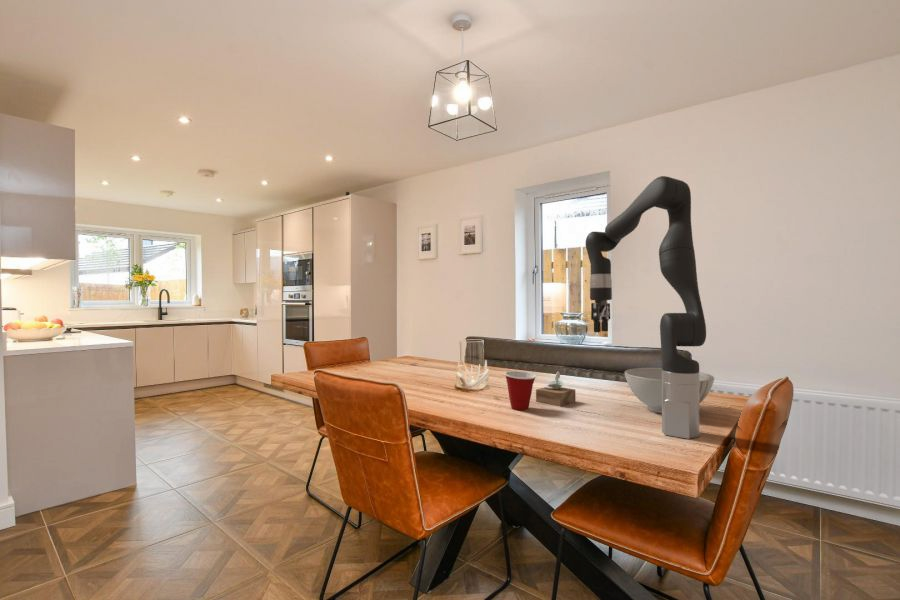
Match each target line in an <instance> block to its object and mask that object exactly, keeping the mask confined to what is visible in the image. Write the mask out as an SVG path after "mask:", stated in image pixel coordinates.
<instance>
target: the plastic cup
mask: <svg viewBox="0 0 900 600" xmlns="http://www.w3.org/2000/svg"><path fill="white" fill-rule="evenodd" d="M504 375H505V379H506V384H507V391H508V397H509V402H510V408H511V409H512V410H516V411H527V410H528V409H529V407H530V403H531V399H532V391H533V386H534V382H535V380H536V378H537V374H534V373H531V372H528V371H527V372H526V371H521V370H520V371H518V370H509V371H505V372H504Z"/></svg>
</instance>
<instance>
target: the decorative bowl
mask: <svg viewBox="0 0 900 600" xmlns="http://www.w3.org/2000/svg"><path fill="white" fill-rule="evenodd" d="M624 377H625V379H626V381H627V385H628V387H629V389H630V391H631V392H632V394H633V395H634V396H635V397H636V398H637V399H638V400H639V401H640V402H641V403H643V404H644V405H646V406H647V409H648V410H649V411H651V412H653V413H657V414H662V367H640V368H639V367H638V368H631V369H630V368H629V369H627V370H624ZM714 381H715V377H714V376H713V375H712V374H709V373H706V372H701V371H699V405H700V404H701V403H702V402H703V401H704V400H705V398H707V396H708V395H709V394H710V391H711V390H712V387H713V386H714Z"/></svg>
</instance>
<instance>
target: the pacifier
mask: <svg viewBox="0 0 900 600" xmlns="http://www.w3.org/2000/svg"><path fill="white" fill-rule="evenodd" d="M560 377H561V373H560V371H556V374H555V376H554V380H553V381H551V382H550V383H548V384H547V385H545V387H546V388H548V389H559V387H563V385H564V383H563V382H562V381H561V380H560ZM550 386H552V387H550Z"/></svg>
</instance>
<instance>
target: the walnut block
mask: <svg viewBox="0 0 900 600" xmlns="http://www.w3.org/2000/svg"><path fill="white" fill-rule="evenodd" d="M550 387H552V386H550ZM573 402H574V403H576V389H574V388H569V387H564V386H562V387H559V389H548V388H546V386H544V387H540V388H537V389H536V390H535V403H538V404H544V405H548V406H549V405H550V406H555V407H558V408H560V407H564V406H567V405H571V404H573ZM570 403H571V404H570Z"/></svg>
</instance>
